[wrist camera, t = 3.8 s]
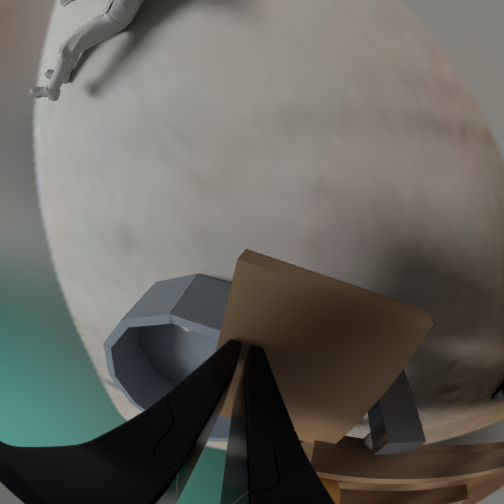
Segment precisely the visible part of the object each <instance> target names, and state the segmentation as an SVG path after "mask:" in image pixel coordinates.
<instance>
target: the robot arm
mask: <svg viewBox="0 0 504 504" xmlns="http://www.w3.org/2000/svg"><path fill="white" fill-rule="evenodd" d="M241 348H242V342H241V341H238V340H234V339H229V340H228V341H227V342H226V343H225V344H224V345H223V346H221V347H220V348H219V349H218V350H217V351H216V352H215V353H214V354H212V355H211V356H210V357H209V358H208V359H207V360H206V361H204V362H203V363H202V364H201V365H200V366H199V367H197V368H196V369H195V370H194V371H193V372H192V373H190V374H189V375H188V376H187V377H186V378H185V379H183V380H182V381H181V382H180V383H179V384H177V385H176V386H175V387H174V388H173V389H171V390H170V391H169V392H168V393H167V394H165V396H163V397H162V398H160V399H159V400H158V401H157V402H155V403H154V404H153V405H151V406H150V407H149V408H147V409H146V410H145V411H143V412H142V413H140V414H138V415H137V416H135V417H134V418H132V419H130V420H129V421H127V422H125V423H123V424H122V425H120V426H118V427H116V428H114V429H112V430H111V431H109V432H107V433H105V434H103V435H101V436H99V437H97V438H95V439H93V440H91V441H88V442H85V443H82V444H77V445H70V446H53V447H17V446H11V445H8V444H5V443H3V442H1V441H0V504H176V503H177V501H178V499H179V497H180V495H181V493H182V491H183V489H184V487H185V485H186V484H187V482H188V479H189V478H190V476H191V473H192V471H193V470H194V467H195V465H196V463H197V461H198V459H199V457H200V455H201V453H202V451H203V449H204V447H205V445H206V443H207V441H208V439H209V436H210V434H211V432H212V430H213V428H214V426H215V424H216V421H217V419H218V417H219V415H220V413H221V411H222V408H223V406H224V404H225V401H226V398H227V395H228V392H229V389H230V386H231V382H232V379H233V376H234V373H235V370H236V367H237V364H238V360H239V356H240V352H241ZM491 398H492V400H493V401H497V400H504V383H503V384H502V385H501V386H500V388H499V389H498V390H497V391H496V392H495V393H494V395H493V396H492V397H491ZM294 430H295V428H294V426H293V423H292V421H291V418H290V416H289V413H288V411H287V408H286V406H285V403H284V400H283V398H282V395H281V393H280V390H279V388H278V385H277V382H276V380H275V377H274V375H273V372H272V369H271V367H270V364H269V362H268V359H267V356H266V354H265V351H264V349H263V348H262V347H260V346H256V345H250V347H249V350H248V353H247V356H246V359H245V362H244V365H243V369H242V373H241V376H240V380H239V384H238V387H237V391H236V395H235V398H234V402H233V407H232V414H231V422H230V430H229V438H228V445H227V453H226V461H225V469H224V477H223V484H222V492H221V500H220V504H336V503H335V502H334V501H333V499H332V498H331V496H330V494H329V493H328V491H327V490H326V488H325V486H324V485H323V483H322V482H321V480H320V478H319V477H318V475H317V473H316V472H315V470H314V468H313V467H312V465H311V463H310V461H309V459H308V457H307V456H306V454H305V451H304V449H303V447H302V445H301V443H300V440H299V438H298V435H297V433H296V431H294Z"/></svg>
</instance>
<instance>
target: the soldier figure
mask: <svg viewBox="0 0 504 504" xmlns="http://www.w3.org/2000/svg"><path fill="white" fill-rule="evenodd" d="M66 1H67V0H64V1H63V0H60V2H61V3H60V2H59V3H60V5H62V4H63V3H64V2H66ZM72 1H74V0H69V1H68V2H66V3H65V4H64V6H63V7H65V6H66V5H67V4H69V3H70V2H72ZM141 1H142V0H106V2H105V3H104V5H103V7H102V9H101V10H100V11H102V12H104V13H105V14H103V15H99V16H97V17H95V18H93V19H91V20H90V21H89V22H87V23H86V24H84V25H83V26H81V27H80V28H78V29H77V30H75V31H74V33H73V35H72V36H71V37H69V38H68V39H67V40H66V41H65V42H64V43H63V44H62V45H61V46H60V49H59V56H58V60H57V63H56V66H55V69H54V70H51V69H49V70H47V71H46V72H45V76H46V77H47V78H48V79H50V82H49V85H47V86H46V87H33V88H32V89H31V90H30V94H31V95H32V96H34V97H36V98H41V97H49V100H53V101H56V100H58V98H59V95H60V87H61V85H62V83H65V84H66V83H68V82H69V79H70V76H71V71H72V69H73V67H74V65H75V63H76V62H77V60H78V58H79V55H80V53H81V51H84V50H87V49H88V48H90V47H92V46H94V45H95V44H97V43H99V42H102V41H105V40H107V39H109V38H110V37H111V36H112V35H114V34H116V33H118V32H120V31H121V30H123V29H124V28H125V27H126V26H127V25H128V24H129V23H132V22H133V19H134V16H135V14H136V13H137V11H138V9H139V7H140V4H141Z"/></svg>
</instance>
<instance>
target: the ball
mask: <svg viewBox="0 0 504 504" xmlns="http://www.w3.org/2000/svg"><path fill="white" fill-rule="evenodd" d="M320 480H321V482H322V483H323V485H324V486H325V488H326V490H327V491H328V493H329V494H330V496H331V498H332V499H333V501H334V502H335V503H336V504H339V503H340V498H341V492H340V487H339V485H338V482H337V481H336V480H333V479H326V478H320Z"/></svg>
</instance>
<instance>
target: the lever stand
mask: <svg viewBox="0 0 504 504" xmlns="http://www.w3.org/2000/svg"><path fill="white" fill-rule="evenodd" d="M368 417H369V424H370V431H371V438H372V445H373V453H374V455H383V454H404V453H412V452H413V451H414V450H416V449H417V448H418V447H419V446H421V445H422V444H423V443H424V442H426V440H425V436H424V433H423V429H422V425H421V422H420V418H419V415H418V412H417V408H416V405H415V402H414V399H413V395H412V392H411V389H410V386H409V383H408V380H407V378H406V375H405V372H404V369H403V370H402V372H401V373H400V374H399V375H398V377H397V378H396V379H395V381H394V382H393V383H392V384H391V386H390V387H389V388H388V389H387V390H386V392H385V393H384V394H383V395H382V396H381V398H380V399H379V400H378V401H377V402H376V403H375V404H374V406H373V407H372V408H371V409H370V410H369V411H368ZM302 442H303V441H301V440H300V443H302Z"/></svg>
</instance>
